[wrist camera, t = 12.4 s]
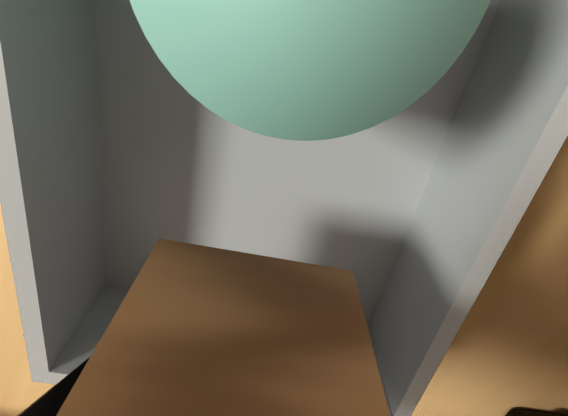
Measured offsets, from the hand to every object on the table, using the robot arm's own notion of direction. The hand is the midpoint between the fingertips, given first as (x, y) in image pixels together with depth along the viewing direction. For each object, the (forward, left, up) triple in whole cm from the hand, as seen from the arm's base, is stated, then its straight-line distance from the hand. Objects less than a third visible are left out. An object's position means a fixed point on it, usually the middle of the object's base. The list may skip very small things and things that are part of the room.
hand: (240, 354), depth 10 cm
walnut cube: (0, 0, -1) cm, 1 cm away
